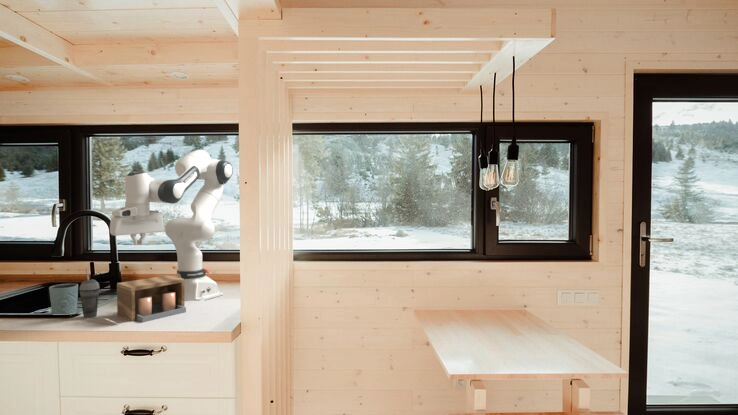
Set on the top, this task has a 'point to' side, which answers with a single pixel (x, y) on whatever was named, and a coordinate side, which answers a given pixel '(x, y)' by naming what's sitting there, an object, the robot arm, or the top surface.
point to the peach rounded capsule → (145, 305)
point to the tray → (159, 313)
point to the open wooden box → (147, 293)
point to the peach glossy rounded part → (168, 301)
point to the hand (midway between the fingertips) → (138, 244)
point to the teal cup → (64, 298)
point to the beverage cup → (89, 297)
